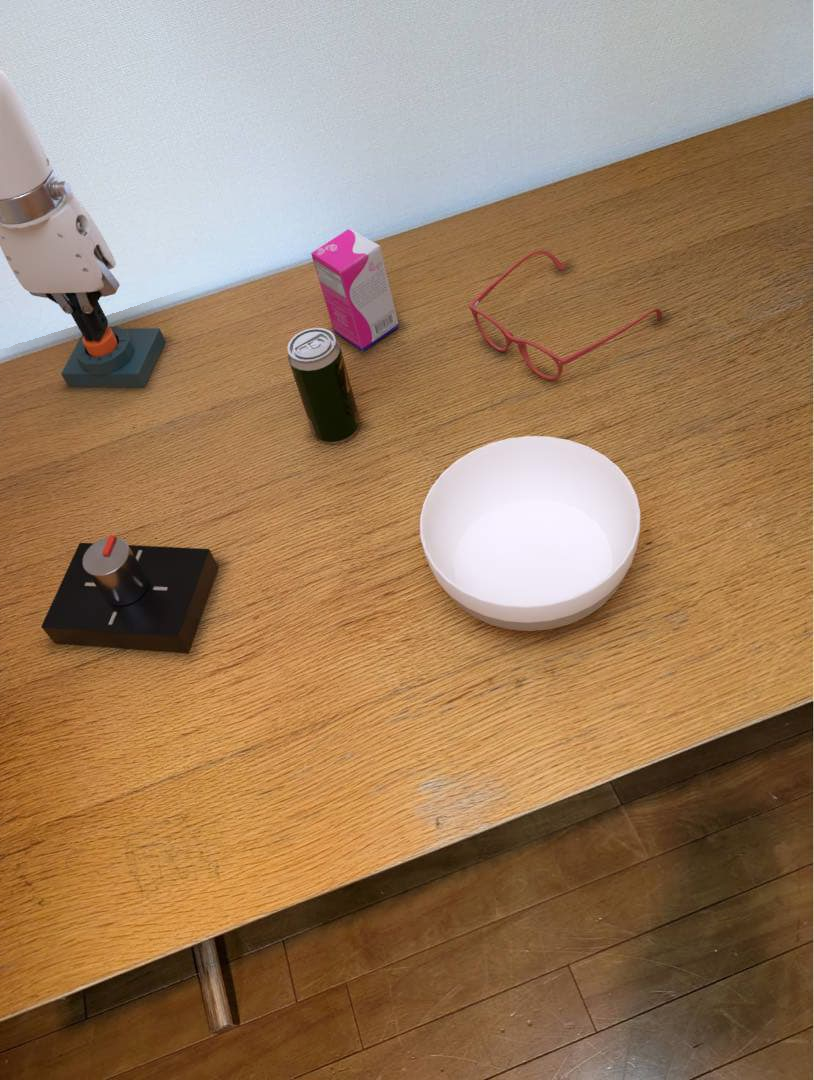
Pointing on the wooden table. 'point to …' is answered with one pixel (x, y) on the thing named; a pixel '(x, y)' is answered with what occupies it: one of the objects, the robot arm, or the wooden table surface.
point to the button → (101, 344)
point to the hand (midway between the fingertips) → (97, 332)
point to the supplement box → (356, 289)
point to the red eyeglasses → (523, 342)
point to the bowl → (530, 531)
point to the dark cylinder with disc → (115, 571)
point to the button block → (116, 360)
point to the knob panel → (135, 603)
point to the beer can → (324, 385)
